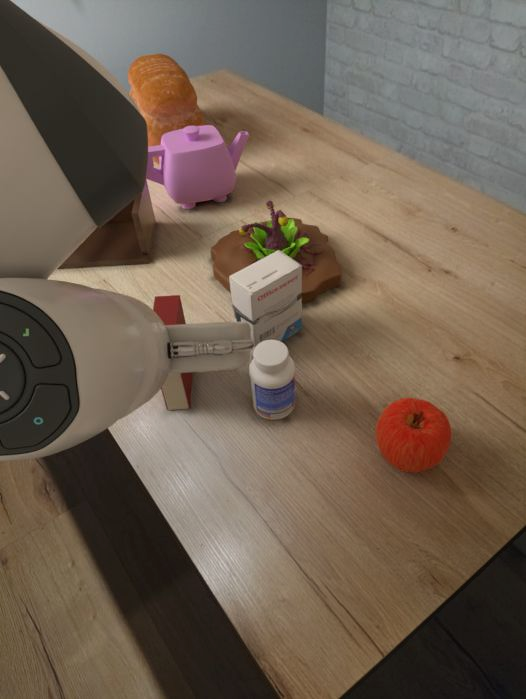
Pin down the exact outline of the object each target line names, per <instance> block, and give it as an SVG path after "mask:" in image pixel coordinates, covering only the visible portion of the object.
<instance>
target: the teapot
mask: <svg viewBox="0 0 526 699" xmlns="http://www.w3.org/2000/svg"><path fill="white" fill-rule="evenodd" d="M249 135H250V134H249V132H248V131H247V130H246V131H238V133H237V135H236V136H235V138H234V139H233V141H232V142H231V143H230V145H229V146H227V144H226V142H225V140H224V138H223V136H222V135H221V133H220V131H219V130H218V129H217V128H216V126H214V125H212V124H206V125H204V126H187V127H185V128H184V129H179V130H175V131H171V132H168V133H165V134H164V135H163V136H162V139H161V145H157V146H151V147H148V163H147V172H146V180H147V181H148V180H149V181H150V182H153V183H156V184H159V185H163V187H164V189H165V190H166V192H167V194H168V195H169V197H170V198H171V200H172V201H173V202H174V203H175V204H179V205H180V204H181V208H182V209H184V210H189V209H193V208H194V207H195V206H196V203H200V202H201V203H202V202H206V201H211V200H213V201H215V202H218V203H223V202H225V201H226V200H227V199H228V197H227V195H229V194H231V193H232V192H233V191H234V189H235V187H236V184H237V176H236V171H237V168H238V165H239V162H240V160H241V157H242V154H243V152H244V149H245V146H246V144H247V141H248V139H249V137H250V136H249ZM153 157H159V163H160V164H159V163H158V164H159V168H157V167H155V164H154V161H153Z"/></svg>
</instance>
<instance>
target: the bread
mask: <svg viewBox="0 0 526 699" xmlns="http://www.w3.org/2000/svg"><path fill="white" fill-rule="evenodd" d="M127 72H128V73H127V81H128V83H129V86H130V88H129V93H128V94H129V95H130V97H131V98H132V100H133V101H134V103H135V105H136V106H137V108H138V110H139V112H140V114H141V115H142V116H143V118H144V119H145V120H146V122H147V131H148V147H151V146H157V145H161V139H162V136H163V135H164V134H165V133H168V132H171V131H175V130H179V129H184V128H185V127H187V126H204V125H207V124H206V120H205V117H204V114H203V112H202V111H201V110H202V109H201V108H200V107H199V105H198V95H197V92H196V89H195V87H194V86H193V84H192V83H191V80H190V78H189V75H188V73H187V72H186V70H185V69H184V68H182V66H180V65H179V63H178V61H176V60H175V59H173V58H172V57H171V56H170V55H167V54H164V53H153V54H147V55H141V56H139V57H137V58H135V60H134V61H133V62H132V63H131V64H130V66H129V68H128V71H127ZM153 162H154V163H157V164H159V165H160V163H159V157H153Z"/></svg>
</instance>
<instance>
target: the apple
mask: <svg viewBox="0 0 526 699" xmlns="http://www.w3.org/2000/svg"><path fill="white" fill-rule="evenodd" d="M452 434H453V433H452V427H451V423H450V421H449V419H448V417H447V415H446V414H445V413H444V412H443V410H442V409H440V408H438V407H437V406H436V405H435V404H433V403H431V402H430V401H428V400H425V399H421V398H415V397H404V398H399V399H396V400H395V401H393V402H391V403H390V404H389V405H388V406H386V407H385V408H384V410H383V411H382V413H381V414H380V416H379V417H378V420H377V423H376V426H375V439H376V440H375V441H376V445H377V447H378V450H379V453H380V454H381V455H382V457H383V458H384V459H385V460H386V462H387V463H388V464H389V465H390V466H392V467H393V468H394V469H396V470H399V471H401V472H406V473H420V472H424V471H428V470H430V469H432V468H434V467H436V466H437V465H438V464H440V463H441V462H442V461H443V459H444V458H445V457H446V455H447V453H448V451H449V448H450V446H451V443H452V437H453V436H452Z"/></svg>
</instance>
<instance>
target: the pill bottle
mask: <svg viewBox="0 0 526 699" xmlns="http://www.w3.org/2000/svg"><path fill="white" fill-rule="evenodd" d="M248 372H249V382H250V390H251V399H252V406H253V409H254V411H255V412H256V413H257V415H259V416H260V417H261V418H263V419H266V420H271V421H274V420H282V419H284V418H286V417H288V416H289V415H290V414H292V412H293V410H294V409H295V406H296V364H295V362H294V360H293V358H292V357H290V354H289V349H288V346H287V345H286V344H285V343H284V342H280V341H277V340H266V341H263V342H261V343H259V344H258V345H257V346H256V347H255V349H254V353H253V355H252V360H251V362H250V363H249V367H248Z"/></svg>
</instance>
